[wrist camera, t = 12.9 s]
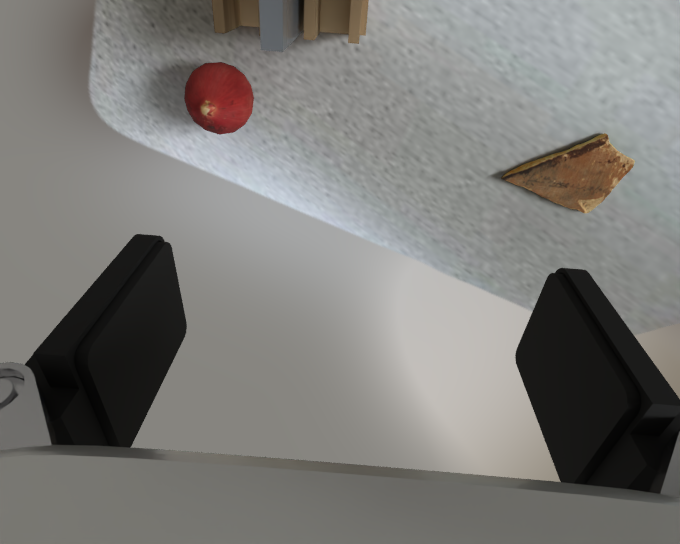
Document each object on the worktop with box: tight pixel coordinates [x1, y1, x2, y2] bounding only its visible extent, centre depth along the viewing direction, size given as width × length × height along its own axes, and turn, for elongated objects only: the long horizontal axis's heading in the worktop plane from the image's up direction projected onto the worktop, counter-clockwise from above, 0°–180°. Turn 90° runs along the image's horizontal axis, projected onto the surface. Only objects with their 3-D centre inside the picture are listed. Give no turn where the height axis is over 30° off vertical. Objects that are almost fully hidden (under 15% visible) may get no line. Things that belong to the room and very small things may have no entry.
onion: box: [184, 62, 254, 134], centre depth 38 cm, size 6×6×8 cm
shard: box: [501, 134, 635, 213], centre depth 43 cm, size 11×8×2 cm
